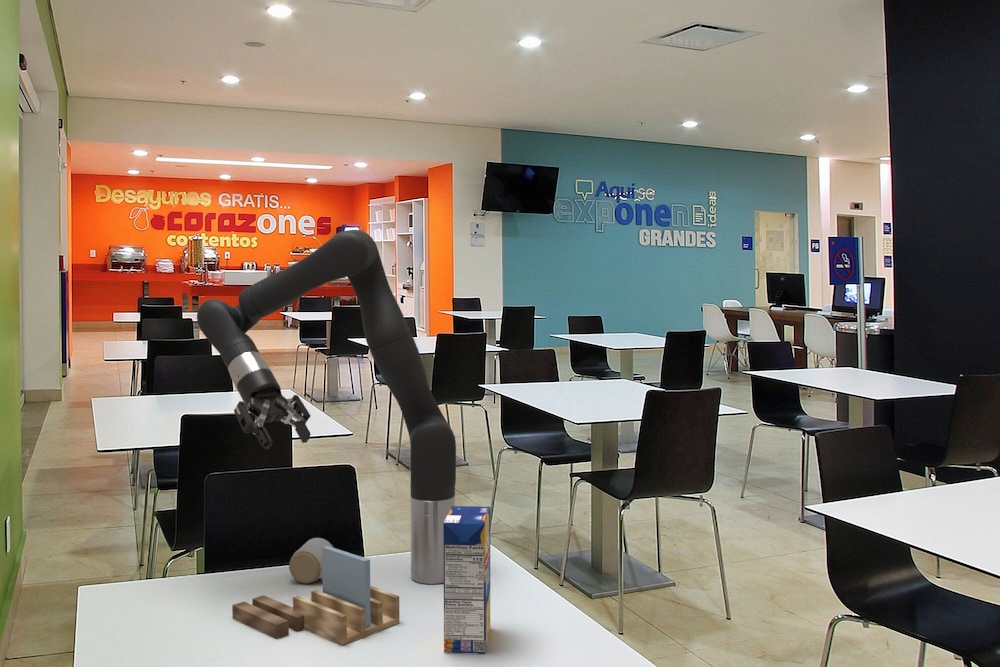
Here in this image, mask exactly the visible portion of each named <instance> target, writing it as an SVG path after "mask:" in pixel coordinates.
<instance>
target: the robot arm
mask: <svg viewBox="0 0 1000 667" xmlns="http://www.w3.org/2000/svg"><path fill="white" fill-rule="evenodd" d="M344 278H347V279H348V281H349V282H350V285H351V288H352V290H353V291H354V293H355V295H356V298H357V301H358V303H359V309H360V315H361V321H362V329H363V333H364V337H365V341H366V345H367V347H368V350H369V352H370V354H371V357H372V359H373V361H374V363H375V366H376V369H377V370H378V372H379V374H380V376H381V378H382V379H383V381H384V383H385V385H386V387H388V389H389V391H390V392H391V393H392V396H393V397H394V398H395V400H396V402H397V403H398V404H397V405H398V406H399V408H400V411H401V413H402V417H403V419H404V423H405V427H406V429H407V432H408V437H409V443H410V445H409V446H410V485H409V486H410V578H411V579H412V580H413V581H414V582H416V583H420V584H426V585H427V584H430V585H433V584H434V585H435V584H442V583H443V584H444V532H443V523H444V521H445V519H446V517H447V515H448V513H449V511H450V509H451V507H452V506H456V481H457V478H456V477H457V443H456V442H457V441H456V437H455V434H454V431H453V428H452V427H451V426H450V424H449V422H448V421H447V420H446V417H445V416H444V414H443V412H442V411H441V409H440V407H439V405H438V403H437V402H436V399H435V398H434V397H435V396H433V393H432V391H431V389H430V385H429V382H428V378H427V377H428V376H427V373H426V370H425V367H424V366H425V365H424V363H423V360H422V357H421V353H420V351H419V348H418V346H417V343H416V342H415V338H414V336H413V334H412V332H411V331H412V330H410V327H409V326H408V323H407V320H406V318H405V316H404V314H403V312H402V309H401V307H400V306H399V303H398V302H397V299H396V297H395V296H394V294H393V292H392V289H391V286H390V284H389V281H388V279H387V274H386V271H385V269H384V265H383V262H382V259H381V256H380V252H379V248H378V246H377V243H376V242H375V240H374V238H373V237H372V236H371V235H369V233H367V232H366V231H363V230H360V229H348V230H342V231H339V232H337V233H336V234H334V235H333V236H332V237H331V238H330V239H329V240H328V239H327V241H326V242H324V243H323V244H322V245H320V247H318V248H317V249H316V250H313V252H312V253H310V254H309V255H307V256H306V257H304V258H302V259H301V260H299V261H297V262H296V263H294V264H292V265H290V266H287V267H286V268H283V269H281V270H279V271H277V272H275V273H273V274H270V275H269V276H266V277H264V278H263V279H260V280H259V281H257V282H255V283H253V284H251V285H249V286H247V287H245V288H244V289H242V290H241V292H240V293H239V294H238V298H237V299H238V304H237V305H234V306H232V305H230V304H228V303H226V302H225V301H223V300H220V299H217V298H211V299H208V300H204V302H203V303H201V304H200V306H198V309H197V312H196V320H197V324H198V327H199V329H200V331H201V332H202V333H203V336H205V337H206V339H207V340H208V341H209V343H210V344H211V346H213V347H214V349H215V350H216V351H217V352H218V354H219V355H220V356H221V359H222V361H223V363H224V365H225V367H226V369H227V370H228V373H229V375H230V378H231V380H232V383H233V385H234V386H235V388H236V391H237V392H238V394H239V395H240V398H241V400H239V401H238V403H237V404H236V406H235V408H234V410H233V411H234V412H233V413H234V415H235V417H236V418H237V419H236V420H237V421H238V423H239V427H241V430H242V432H243V433H245V434H249V433H252V434H253V435H255V436H256V438H257V440H258V442H259V444H260V446H261V447H263V448H264V449H265V450H268V449H270V448H271V447H272V446H273V443H274V442H273V439H272V437H271V436H270V434H269V431H268V429H267V428H266V427H264V424H265V423H268V424H269V423H272V422H280V421H281V422H282V423H284V424H285V425H290V426H291V427H293V428H295V429H294V430H295V432H296V433H297V436H298V438H299V439H300V442H301V443H303V444H304V443H305V444H306V443H307V442H308V441H309V440H310V438H311V431H310V430H309V429H308V427H307V422H308V421H309V419H310V418H311V417H312V416H311V413H310V412H309V411H308V409H307V407H306V406H305V405H304V402H303V401H302V400H301V398H300V397H299V396H298V395H297V394H294V395H293V396H292V397H291V398H286V397H285V396H283V394H282V390H281V389H282V388H281V386H280V384H279V382H278V380H277V379H276V377H275V375H274V374H273V371H272V369H271V368H270V367H269V364H268V362H267V361H266V359H265V358H264V357H263V356H262V355H261V353H260V351H259V349H258V347H257V346H256V343H255V342H254V341H253V339H252V338H251V337H250V335H248V334H246V333H247V332H248V331H250V330H251V329H252V328H253V327H254V326H255V325H256V324H257V323H258V322H260V320H261V319H263V318H266V317H267V316H269V315H272V314H274V313H275V312H277V311H279V310H280V309H283V308H285V307H286V306H288V305H290V304H292V303H293V302H295V301H296V300H298V299H300V298H301V297H302V296H304V295H305V294H307V293H309V292H310V291H312V290H314V289H317V288H318V287H321V286H322V285H325V284H328V283H331V282H333V281H337V280H340V279H344ZM250 413H251V414H250ZM287 413H288V415H287V416H285V415H286V414H287ZM251 415H253V416H255V420H254V421H253V419H252V416H251Z"/></svg>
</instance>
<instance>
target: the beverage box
mask: <svg viewBox="0 0 1000 667" xmlns="http://www.w3.org/2000/svg"><path fill="white" fill-rule="evenodd" d="M443 532H444V583H443V653H444V652H448V653H447V654H461V653H482V654H481V655H485V654H486V651H487V645H488V642H487V641H488V640H489V637H488V636H490V631H491V506H479V505H478V506H477V505H476V506H473V505H472V506H471V505H467V506H466V505H455V506H452V507H451V509H450V511H449V513H448V515H447V517H446V519H445V521H444V523H443ZM485 650H486V651H485ZM450 652H452V653H450ZM484 653H485V654H484Z"/></svg>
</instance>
